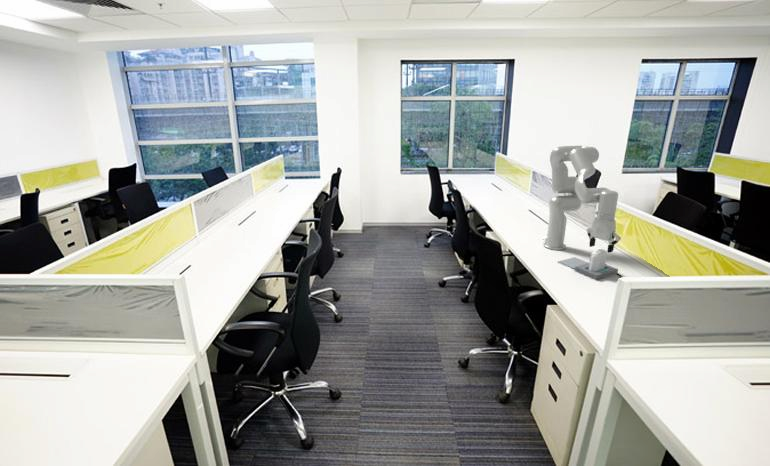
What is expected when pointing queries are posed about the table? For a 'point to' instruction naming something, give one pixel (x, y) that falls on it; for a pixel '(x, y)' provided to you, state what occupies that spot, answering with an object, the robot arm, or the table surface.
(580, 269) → the charging dock
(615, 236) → the robot arm
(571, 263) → the rubber mat
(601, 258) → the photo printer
